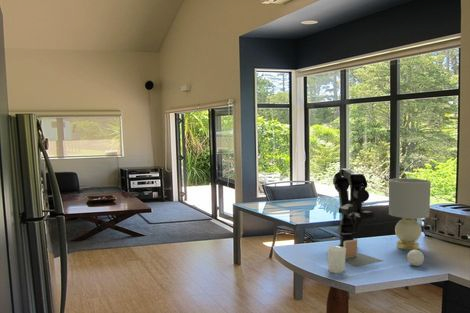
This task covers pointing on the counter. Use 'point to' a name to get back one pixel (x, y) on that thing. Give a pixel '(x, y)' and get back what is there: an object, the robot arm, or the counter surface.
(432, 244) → the counter surface
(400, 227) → the lamp
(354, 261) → the mat
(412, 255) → the seamed sphere
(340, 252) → the white cup
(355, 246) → the tile
